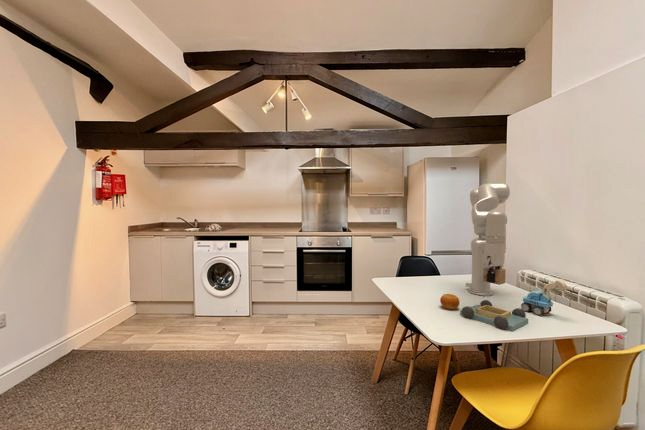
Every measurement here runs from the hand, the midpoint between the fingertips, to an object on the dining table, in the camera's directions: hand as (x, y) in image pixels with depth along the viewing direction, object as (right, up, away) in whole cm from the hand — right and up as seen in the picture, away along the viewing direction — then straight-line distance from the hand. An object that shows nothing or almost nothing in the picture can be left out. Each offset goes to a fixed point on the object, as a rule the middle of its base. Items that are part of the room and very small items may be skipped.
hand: (494, 280), depth 133 cm
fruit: (-14, -17, +14) cm, 26 cm away
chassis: (0, -17, +1) cm, 17 cm away
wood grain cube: (0, -1, 0) cm, 1 cm away
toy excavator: (+27, -17, +7) cm, 33 cm away
